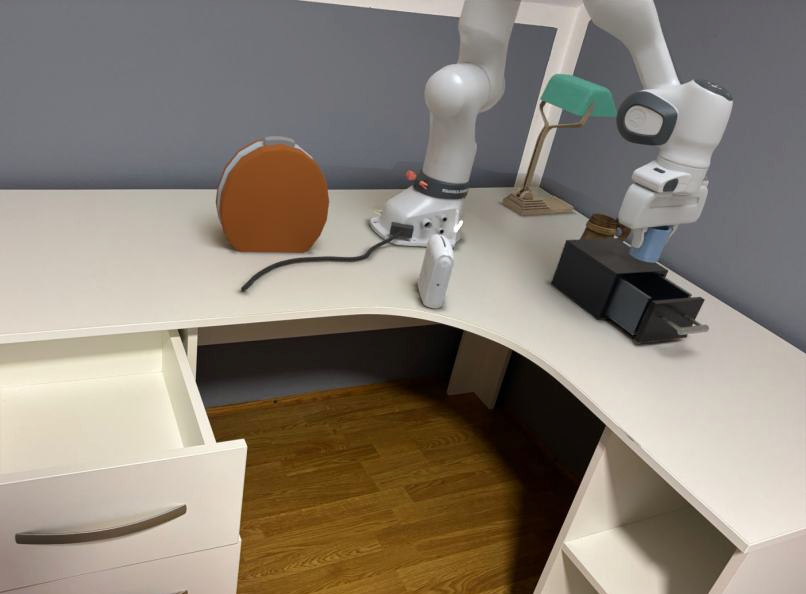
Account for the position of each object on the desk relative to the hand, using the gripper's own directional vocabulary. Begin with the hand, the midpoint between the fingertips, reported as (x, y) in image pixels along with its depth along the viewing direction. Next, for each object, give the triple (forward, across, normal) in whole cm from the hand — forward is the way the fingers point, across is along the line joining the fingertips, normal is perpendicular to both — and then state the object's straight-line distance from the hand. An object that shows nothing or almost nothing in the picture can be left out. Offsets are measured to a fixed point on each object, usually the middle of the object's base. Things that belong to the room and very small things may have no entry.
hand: (648, 245), depth 135 cm
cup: (+2, 0, 0) cm, 2 cm away
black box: (+17, -5, -9) cm, 20 cm away
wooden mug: (+18, -21, -24) cm, 36 cm away
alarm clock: (+17, +56, -49) cm, 76 cm away
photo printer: (+17, +34, -19) cm, 43 cm away
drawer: (+17, -4, +5) cm, 18 cm away
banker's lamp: (+17, -32, -57) cm, 67 cm away
